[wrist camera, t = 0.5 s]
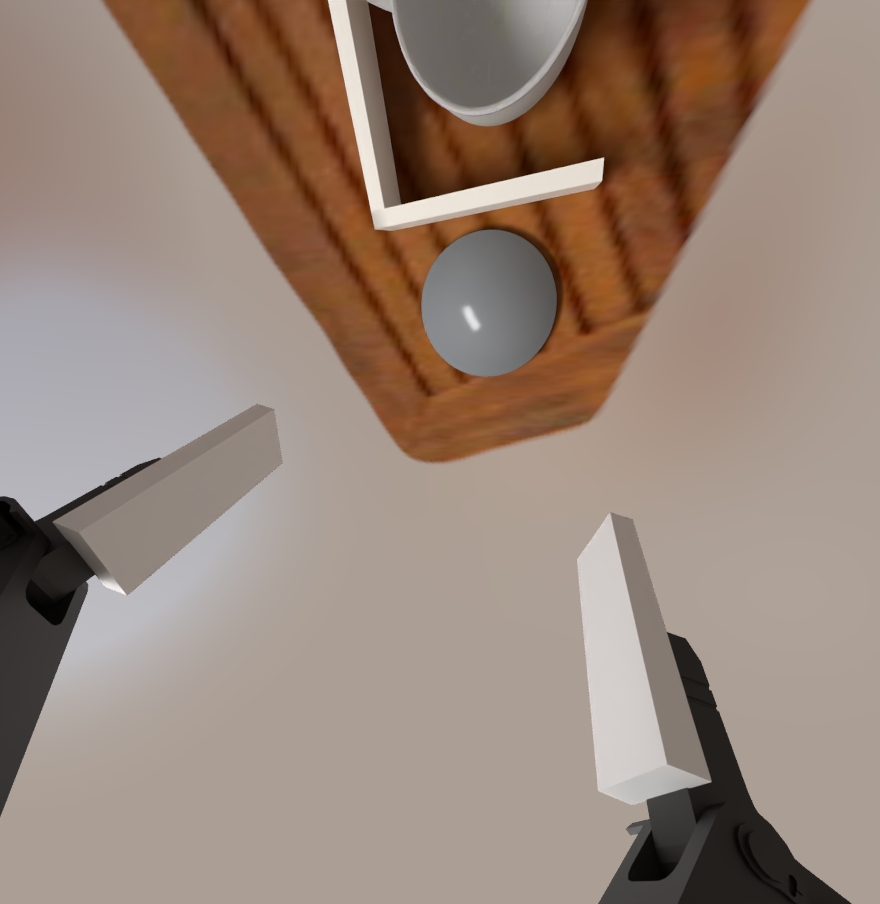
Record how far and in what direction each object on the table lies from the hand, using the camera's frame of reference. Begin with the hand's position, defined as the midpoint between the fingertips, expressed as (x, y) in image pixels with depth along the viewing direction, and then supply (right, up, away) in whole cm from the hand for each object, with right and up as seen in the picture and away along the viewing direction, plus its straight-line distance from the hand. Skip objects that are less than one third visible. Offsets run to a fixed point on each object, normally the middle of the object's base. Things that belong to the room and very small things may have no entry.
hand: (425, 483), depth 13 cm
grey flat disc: (+5, +15, +19) cm, 25 cm away
